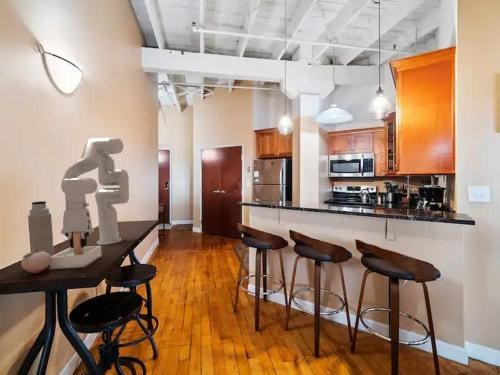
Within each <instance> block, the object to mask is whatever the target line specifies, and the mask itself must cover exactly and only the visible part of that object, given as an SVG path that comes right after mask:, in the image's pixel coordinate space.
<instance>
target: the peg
mask: <svg viewBox="0 0 500 375" xmlns="http://www.w3.org/2000/svg"><path fill="white" fill-rule="evenodd" d="M81 239H82V236H81V232H73V245H74V255H81V254H84V249H83V248H81Z"/></svg>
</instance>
